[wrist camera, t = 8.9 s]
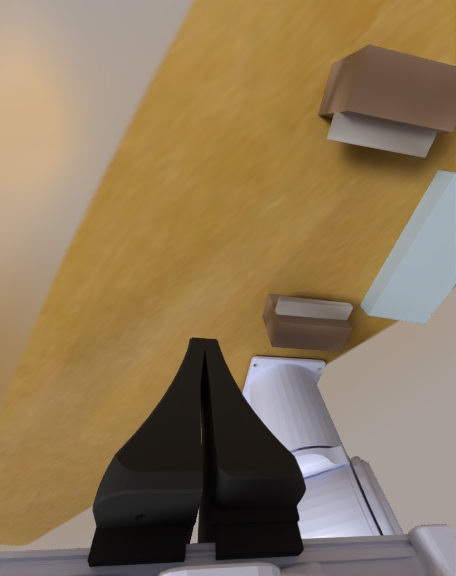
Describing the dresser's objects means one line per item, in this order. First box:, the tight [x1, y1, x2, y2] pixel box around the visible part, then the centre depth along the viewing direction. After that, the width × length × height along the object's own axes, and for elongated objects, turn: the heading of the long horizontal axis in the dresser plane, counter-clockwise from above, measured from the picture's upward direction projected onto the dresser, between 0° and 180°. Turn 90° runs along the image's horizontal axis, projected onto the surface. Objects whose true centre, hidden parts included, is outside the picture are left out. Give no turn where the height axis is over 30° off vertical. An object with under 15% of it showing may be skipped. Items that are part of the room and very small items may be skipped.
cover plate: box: [360, 170, 456, 324], centre depth 22 cm, size 12×6×2 cm, turn 167°
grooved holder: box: [263, 45, 456, 351], centre depth 19 cm, size 18×6×4 cm, turn 171°
